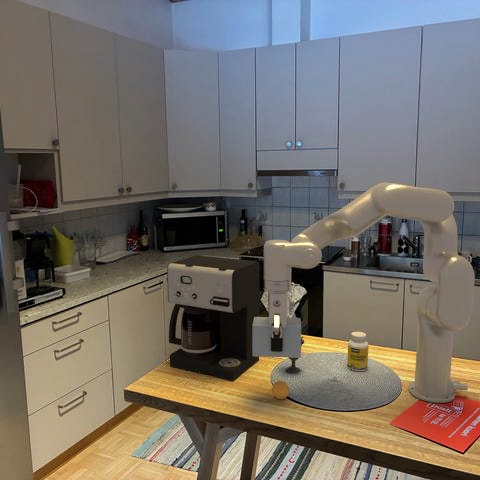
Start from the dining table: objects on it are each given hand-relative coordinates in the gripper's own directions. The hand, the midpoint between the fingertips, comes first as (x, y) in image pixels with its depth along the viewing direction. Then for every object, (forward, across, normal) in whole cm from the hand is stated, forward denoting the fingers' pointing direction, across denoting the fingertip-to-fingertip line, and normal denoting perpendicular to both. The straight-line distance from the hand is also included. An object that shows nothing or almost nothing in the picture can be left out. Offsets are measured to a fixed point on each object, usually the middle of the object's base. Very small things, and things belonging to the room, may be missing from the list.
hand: (277, 345), depth 136 cm
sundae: (+16, +19, -5) cm, 25 cm away
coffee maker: (+16, +23, +23) cm, 36 cm away
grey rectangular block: (+2, 0, 0) cm, 2 cm away
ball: (+13, 0, -1) cm, 13 cm away
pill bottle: (+16, +23, -26) cm, 38 cm away
